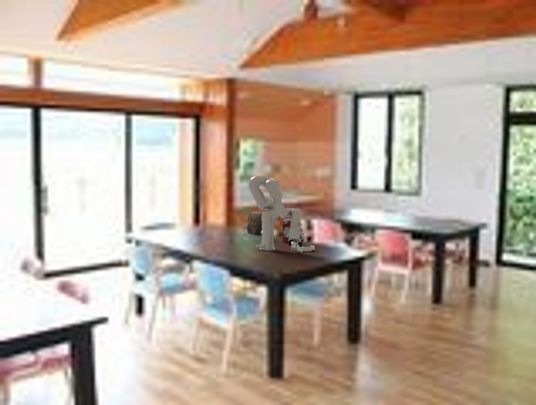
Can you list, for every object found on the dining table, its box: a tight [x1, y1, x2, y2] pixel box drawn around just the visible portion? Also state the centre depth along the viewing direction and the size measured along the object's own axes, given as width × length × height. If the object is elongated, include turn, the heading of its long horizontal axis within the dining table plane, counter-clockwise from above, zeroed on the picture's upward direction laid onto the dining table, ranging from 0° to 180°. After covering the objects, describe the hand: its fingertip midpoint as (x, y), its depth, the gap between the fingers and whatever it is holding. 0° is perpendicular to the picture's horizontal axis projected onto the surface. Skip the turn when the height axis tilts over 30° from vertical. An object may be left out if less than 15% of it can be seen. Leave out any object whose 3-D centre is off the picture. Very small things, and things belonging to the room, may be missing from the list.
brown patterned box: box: [281, 218, 305, 243], centre depth 485 cm, size 9×19×20 cm, turn 78°
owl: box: [246, 211, 263, 236], centre depth 527 cm, size 13×13×20 cm
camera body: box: [298, 241, 316, 253], centre depth 451 cm, size 13×9×6 cm
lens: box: [290, 240, 299, 254], centre depth 439 cm, size 5×5×9 cm
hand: (295, 246), depth 439 cm, fingers open, 9 cm apart
